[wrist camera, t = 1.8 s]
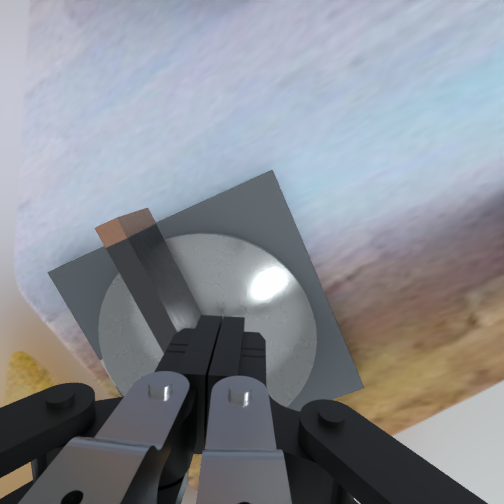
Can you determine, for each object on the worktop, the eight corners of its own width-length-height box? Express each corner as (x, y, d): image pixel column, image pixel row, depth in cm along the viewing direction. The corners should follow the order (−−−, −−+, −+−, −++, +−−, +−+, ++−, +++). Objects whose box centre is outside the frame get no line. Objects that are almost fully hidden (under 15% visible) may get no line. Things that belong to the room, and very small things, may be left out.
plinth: (272, 170, 30) (272, 170, 28) (358, 375, 35) (364, 389, 32) (60, 266, 33) (46, 273, 31) (165, 445, 37) (159, 462, 35)
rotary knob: (344, 383, 32) (369, 446, 25) (165, 448, 34) (138, 523, 27) (248, 161, 28) (243, 158, 20) (49, 253, 30) (-19, 280, 23)
